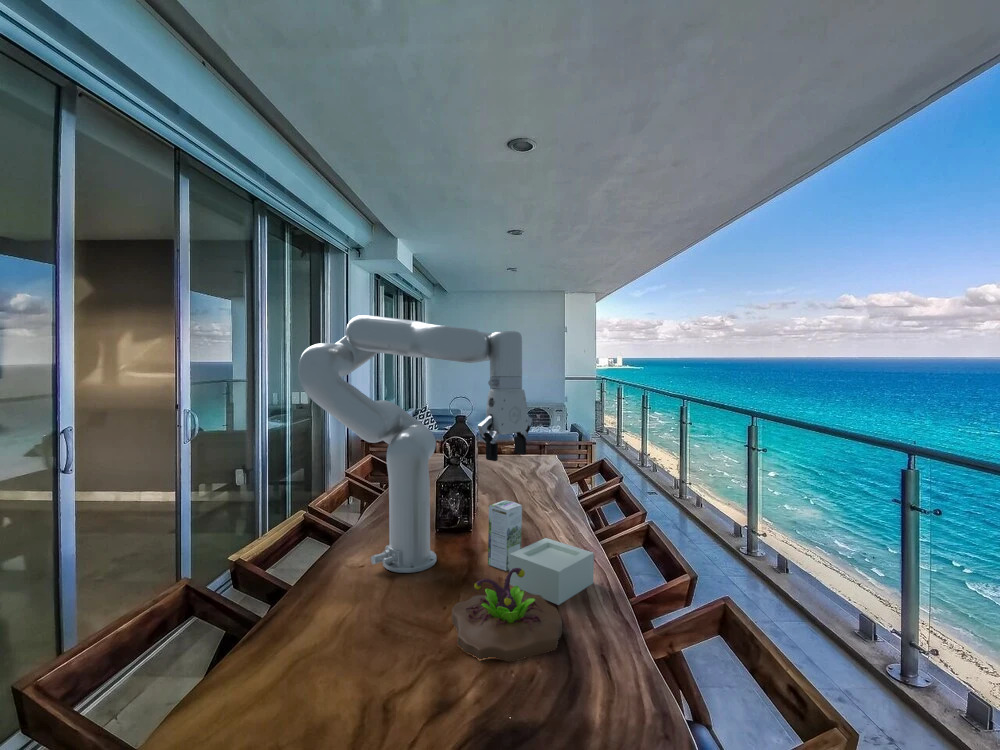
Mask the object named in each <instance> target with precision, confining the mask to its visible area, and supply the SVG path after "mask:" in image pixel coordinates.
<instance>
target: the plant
mask: <svg viewBox="0 0 1000 750" xmlns="http://www.w3.org/2000/svg"><path fill="white" fill-rule="evenodd" d="M513 572H516V574H517V575H518V576H519V577H523V576H524V575H525V571H524V570H523V569H521V568H513V569H512V570H511V571H510V572H509V571H508V573H507V575H506V577H505V579H504V586H503V587H501V586H500V585H499V584H498V582H495V580H492V579H489V578H483V579H481V580H477V581H476V582H475V583H474V586H473V587H474V589H475V590H480V589H481V588H482V583H489V584H491V586H492V588H494V590H493V589H490V588H485V590H484V591H485V593H486V594H484V595H483V594H481V595H480V594H476V595H473V596H472V597H471V598H469V599H468V600H461V601H458V602H457V603H455V605H454V606H453V607H452V609H451V623H452V622H453V623H452V625H453V624H454V625H453V627H454V626H455V627H456V628H455V627H454V628H455V630H456V629H457V630H456V634H457V633H458V634H457V637H456V638H457V640H456V642H457V643H456V645H457V644H458V645H459V646H460V647H461V648H463V650H464V651H465V652H467V653H470V654H472V655H474V656H476V657H477V658H479V659H483V658H488V657H496V658H500V659H502V660H505V661H512V662H514V661H513V660H516V661H518V660H517V659H520V660H522V659H521V658H524V657H528V658H530V657H529V656H532V657H535V656H538V655H537V654H539V655H542V654H541V653H543V654H546V653H545V652H548V651H551V650H554V649H556V648H557V649H558V646H559V641H558V640H560V639H561V637H562V636H563V619H562V617H561V614H560V613H559V610H558V609H557V607H555V606H554V605H551V604H550V603H548V602H547V600H545V599H543V598H542V597H541V596H540V595H534V594H531V593H528V592H525V591H523V590H521V589H520V588H519V586H515V587H514V586H512V587H511V585H510V578H511V575H512V573H513ZM561 635H562V636H561ZM559 638H560V639H559ZM458 645H457V646H458ZM557 645H558V646H557ZM461 648H460V649H461ZM557 649H556V650H557ZM463 650H462V651H463ZM554 651H555V650H554ZM551 652H552V651H551ZM548 653H549V652H548ZM534 655H535V656H534ZM524 659H525V658H524ZM502 660H501V661H502ZM505 661H504V662H505Z"/></svg>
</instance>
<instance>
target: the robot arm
mask: <svg viewBox="0 0 1000 750" xmlns="http://www.w3.org/2000/svg"><path fill="white" fill-rule="evenodd" d="M379 353H380V354H388V355H394V356H395V355H397V356H402V357H410V358H415V359H417V358H420V359H421V358H429V359H435V360H443V361H449V362H450V361H451V362H457V363H459V362H460V363H466V364H474V363H481V362H482V363H483V362H487V361H489V381H488V383H487V384H488V386H489V390H488V394H487V400H486V411H485V419H483V420H482V421H481V422H480V423H479V424H477V430H478V431H479V435H480V437H481V439H482V440H483V443H485V459H486V460H487V461H491V462H497V461H498V457H499V456H498V453H499V451H498V450H499V449H498V448H499V447H498V446H499V444H498V443H496V442H497V440H498V438H499V436H500V435H504V436H505V435H512V434H515V436H514V440H513V441H514V454H516V455H522V456H524V455H526V454H527V439H528V437H529V436H528V434H529V431H530V430H531V425H532V421H533V418H532V417H530V416H529V415H528V414H529V413H528V403H527V398H526V397H527V396H526V392H525V389H523V337H522V334H521V333H520V332H518V331H515V330H498V331H493V332H485V331H479V330H476V329H473V328H465V327H456V326H448V325H443V324H442V325H440V324H433V323H432V324H431V323H428V322H424V321H419V320H412V319H405V318H404V319H403V318H397V317H395V318H394V317H387V316H378V315H372V314H370V315H369V314H360V315H359V314H358V315H356V316H354V317H353V318H351V319H350V320H349V321H348V323H347V325H346V328H345V336H344V337H342V338H340V340H338V341H337V342H335V343H329V342H327V343H326V342H320V343H315V344H313V345H310V346H309V347H307V348H306V349H305V350H304V351H303V352H302V354H300V355H301V356H300V358H299V360H298V365H297V373H298V380H299V382H300V385H301V388H302V390H303V391H304V392H305V394H306V396H308V398H309V399H310V400H312V402H313V403H315V404H316V405H318V406H319V407H320V408H321V409H323V410H324V411H325V412H327V413H328V414H330V415H331V416H332V417H333V418H335V419H336V420H337V421H338V422H339V423H340V424H342V425H343V426H345V427H346V428H347V429H349V430H350V431H351V432H352V433H354V434H355V435H356V436H358V437H359V438H360V439H361V440H364V441H365V442H367V443H372V444H376V443H379V442H382V441H383V442H385V443H386V444H387V449H386V468H387V469H386V470H387V475H388V476H387V477H388V499H389V500H388V501H389V504H388V505H389V506H388V507H389V508H388V509H389V515H388V516H389V517H388V519H389V520H388V521H389V523H388V525H389V526H388V527H389V528H388V529H389V531H388V532H389V544H387V545H385V548H384V550H383V551H382V553H376V554H373V555H371V556H370V561H371V564H372V565H376V564H379V563H382V566H383V567H384V568H385V569H386V570H389V572H390V571H391V572H394V573H400V574H404V573H405V574H409V573H417V572H422V571H425V570H428V569H430V568H432V567H433V566H435V564H436V563H437V554H436V553H435V552H434V551H432V549H431V495H430V494H431V488H430V487H431V485H430V473H429V472H430V471H429V460H430V459H431V457H432V456H433V454H434V453H435V451H436V446H437V441H436V437H435V435H434V433H433V432H432V431H431V430H430V429H429V428H428V427H427V425H425V424H423V423H422V422H420V421H419V420H418V419H416V418H415V417H414V416H413V415H411V414H410V413H409V412H407V411H406V410H404V408H402V407H401V406H399V405H397V404H395V402H392V401H390V400H389V401H388V400H386V399H381V400H373V399H372V398H370V397H369V396H368V395H366V394H365V393H363V392H362V391H361V390H360V389H358V388H357V387H355V386H354V385H353V384H351V383H349V382H348V381H346V380H344V379H343V377H346V376H348V375H349V374H352V373H353V372H354V371H356V370H357V369H358V368H360V367H361V366H362V365H364V364H365V363H367V362H368V361H369V360H371V359H373V358H374V357H375V356H376V355H377V354H379Z"/></svg>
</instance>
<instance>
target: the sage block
mask: <svg viewBox="0 0 1000 750" xmlns="http://www.w3.org/2000/svg"><path fill="white" fill-rule="evenodd" d="M594 555H595V553H594V552H593V551H589V550H585V549H582V548H580V547H576V546H573V545H570V544H567V543H564V542H560V541H557V540H554V539H551V538H548V537H545V538H543V539H540V540H538V541H534V543H530V544H529V545H527V546H524V547H521V549H520V550H517V551H515V552H513V553H511V554H510V556H509V570H508V573H509V572H510V571H511V570H512V569H513V568H521V569H523V570H524V571H525V575H524V576H523V577H519V576H518V575H517V574H516V572H513V573H512V575H511V578H510V587H511V586H512V587H515V586H519V588H520V591H524V592H525V593H528V594H534V595H540V596H541V597H542V598H543V599H544V600H545V601H548V602H550V603H553V604H555V605H557V606H560V605H561V604H564V602H566V601H567V600H569V599H570V598H572V597H574V596H575V595H577V594H579V593H580V592H582V591H584V590H585V589H586V588H589V587H590V586H591V585H593V584H594V578H595V577H594V574H595V573H594V571H595V570H594V569H595V568H594V567H595V566H594V562H595V561H594V560H595V556H594Z"/></svg>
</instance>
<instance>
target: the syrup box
mask: <svg viewBox="0 0 1000 750" xmlns="http://www.w3.org/2000/svg"><path fill="white" fill-rule="evenodd" d="M522 515H523V505H522V504H520V503H517V502H515V501H510V500H506V499H505V500H501V501H499V502H495V503H493V504H490V505H488V533H487V534H488V535H487V536H488V537H487V538H488V540H487V543H488V545H487V565H488V566H491V567H493V568H496V569H498V570H502V571H505V572H507V571H509V556H510V554H511V553H513V552H515V551H517V550H520V549H522V533H523V532H522V531H523V530H522V527H523V526H522V525H523V524H522V523H523V521H522V520H523V516H522Z"/></svg>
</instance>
